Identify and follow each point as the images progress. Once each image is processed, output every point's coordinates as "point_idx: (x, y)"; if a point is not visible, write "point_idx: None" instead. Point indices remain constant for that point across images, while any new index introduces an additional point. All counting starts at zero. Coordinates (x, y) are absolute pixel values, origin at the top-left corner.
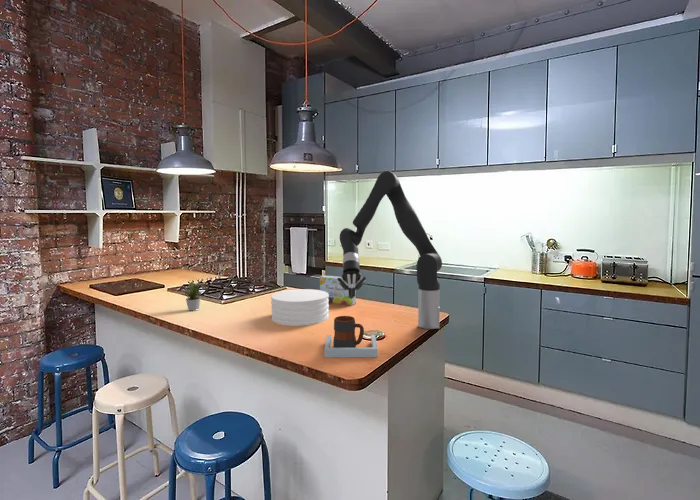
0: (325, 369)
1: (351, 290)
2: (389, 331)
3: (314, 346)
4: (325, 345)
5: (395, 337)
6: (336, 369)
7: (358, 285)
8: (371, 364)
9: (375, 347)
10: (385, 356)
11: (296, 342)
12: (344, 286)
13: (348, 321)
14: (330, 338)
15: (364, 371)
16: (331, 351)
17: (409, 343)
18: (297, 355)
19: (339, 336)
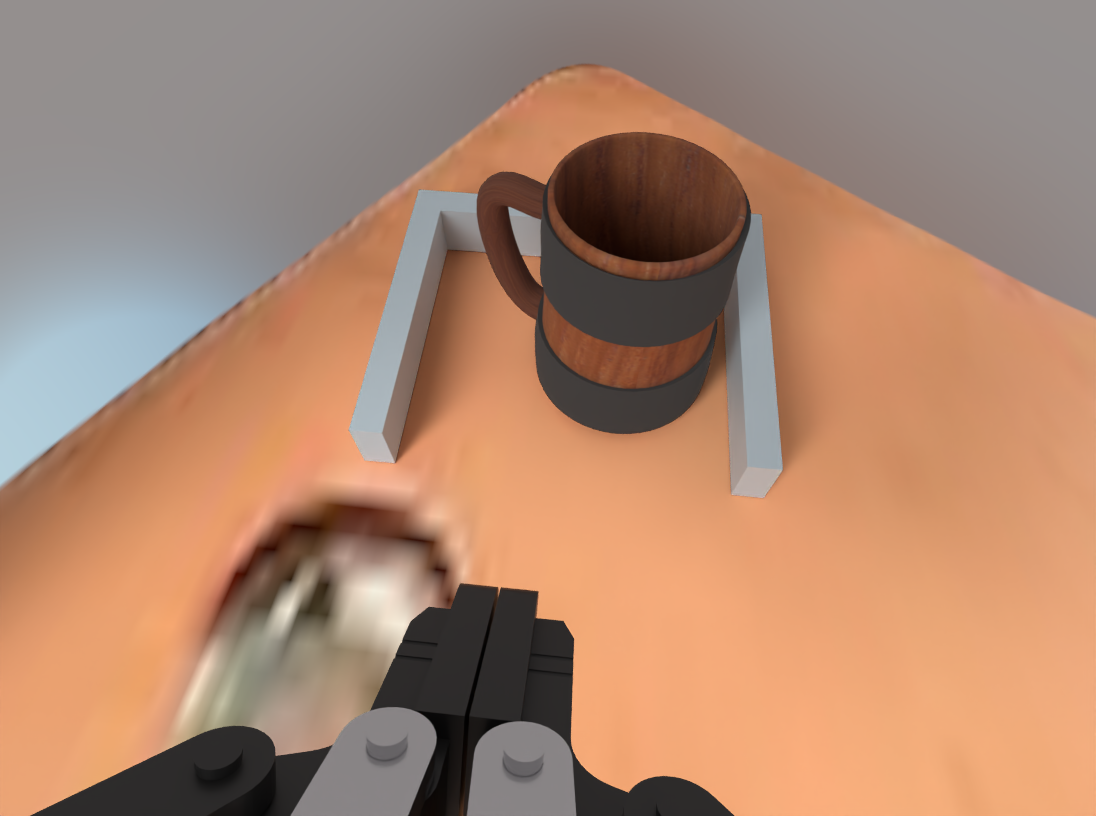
0: (724, 138)
1: (489, 666)
2: (96, 759)
3: (853, 428)
4: (763, 266)
5: (140, 556)
6: (669, 134)
7: (198, 753)
8: (486, 161)
9: (426, 209)
10: (379, 234)
11: (1038, 532)
12: (714, 801)
13: (611, 137)
14: (743, 397)
15: (535, 109)
16: None
17: (110, 408)
18: (928, 295)
19: (673, 244)
